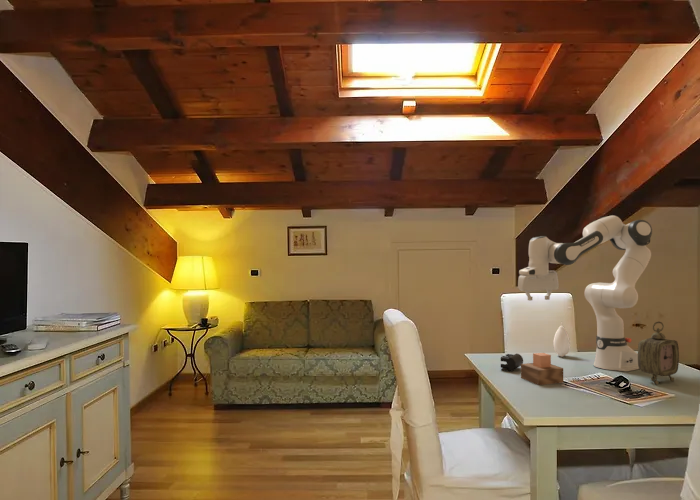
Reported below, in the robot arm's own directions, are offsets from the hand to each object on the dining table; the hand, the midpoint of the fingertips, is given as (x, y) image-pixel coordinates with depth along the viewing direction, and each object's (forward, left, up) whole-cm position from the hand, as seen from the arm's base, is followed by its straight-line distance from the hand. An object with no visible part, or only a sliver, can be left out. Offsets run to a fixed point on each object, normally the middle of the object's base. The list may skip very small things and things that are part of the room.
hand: (538, 300), depth 241 cm
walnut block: (+15, +22, -31) cm, 41 cm away
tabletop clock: (-29, +38, -31) cm, 57 cm away
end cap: (+16, +2, -31) cm, 35 cm away
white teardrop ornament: (-24, -14, -31) cm, 42 cm away
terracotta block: (+15, +22, -25) cm, 37 cm away
